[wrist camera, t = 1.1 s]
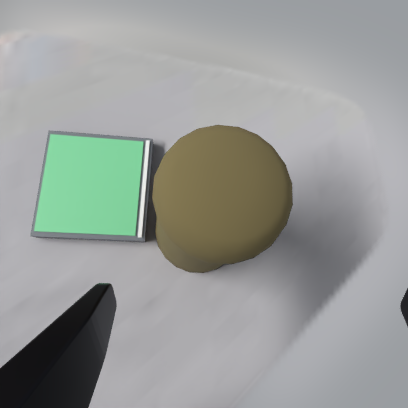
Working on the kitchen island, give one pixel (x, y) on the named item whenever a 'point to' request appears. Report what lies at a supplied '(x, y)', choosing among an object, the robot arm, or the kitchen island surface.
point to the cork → (219, 198)
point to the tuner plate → (94, 187)
